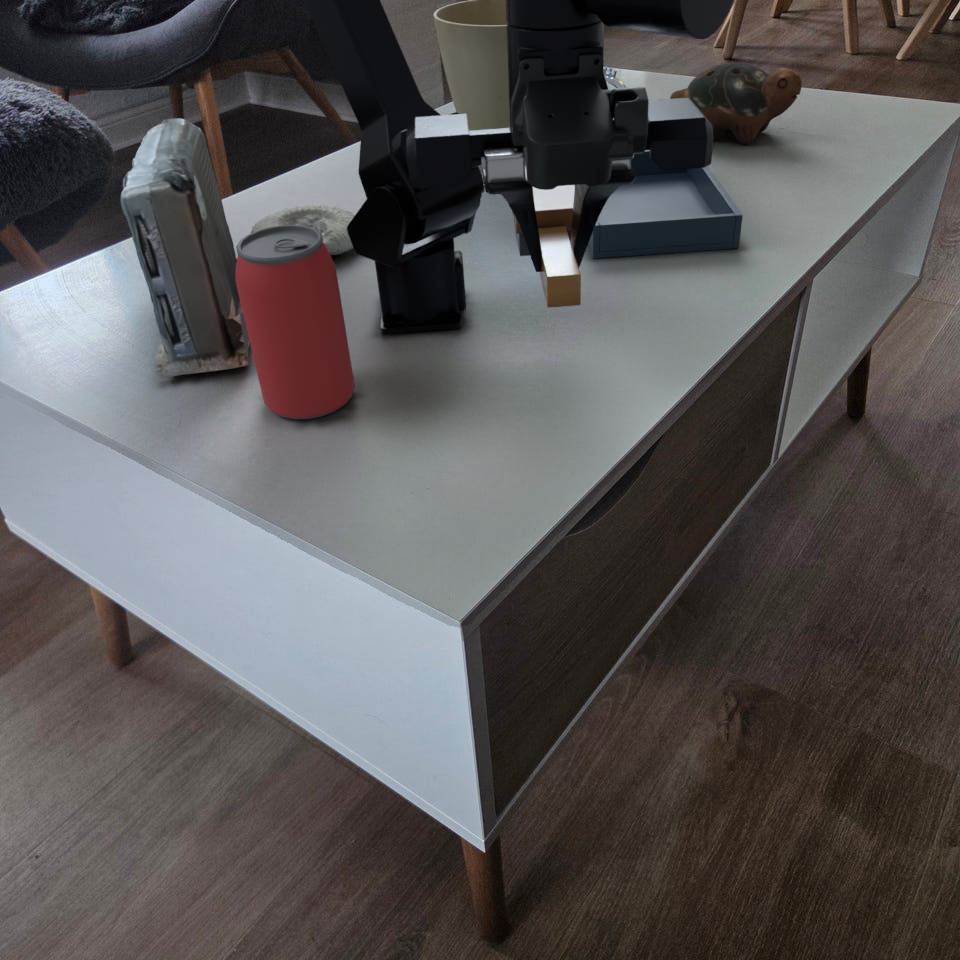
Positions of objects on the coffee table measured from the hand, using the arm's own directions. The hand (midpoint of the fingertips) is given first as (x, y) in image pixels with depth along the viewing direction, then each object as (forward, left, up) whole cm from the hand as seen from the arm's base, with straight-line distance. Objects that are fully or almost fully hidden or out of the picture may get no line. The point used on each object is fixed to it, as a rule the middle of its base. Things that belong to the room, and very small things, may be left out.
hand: (556, 268), depth 64 cm
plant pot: (0, +45, -8) cm, 46 cm away
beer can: (-18, -2, -8) cm, 20 cm away
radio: (-29, +13, -8) cm, 32 cm away
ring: (+11, +52, -8) cm, 54 cm away
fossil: (-21, +25, -8) cm, 34 cm away
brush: (0, +2, -1) cm, 3 cm away
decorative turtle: (+26, +50, -8) cm, 57 cm away
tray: (+12, +28, -8) cm, 32 cm away
